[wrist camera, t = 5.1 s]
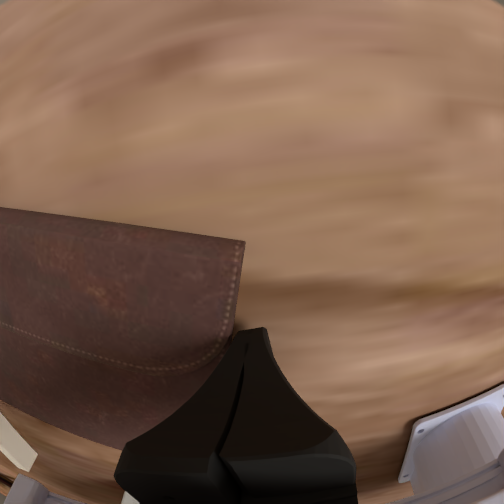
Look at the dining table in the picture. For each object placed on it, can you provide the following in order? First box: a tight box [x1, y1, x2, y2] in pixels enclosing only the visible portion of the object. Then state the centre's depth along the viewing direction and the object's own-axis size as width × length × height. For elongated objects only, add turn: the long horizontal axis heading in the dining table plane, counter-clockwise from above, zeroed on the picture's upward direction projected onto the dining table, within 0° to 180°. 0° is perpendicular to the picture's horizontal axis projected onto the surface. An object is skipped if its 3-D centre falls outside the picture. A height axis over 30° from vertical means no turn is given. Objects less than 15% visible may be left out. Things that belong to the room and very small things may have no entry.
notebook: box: [0, 207, 245, 451], centre depth 13 cm, size 15×20×2 cm
